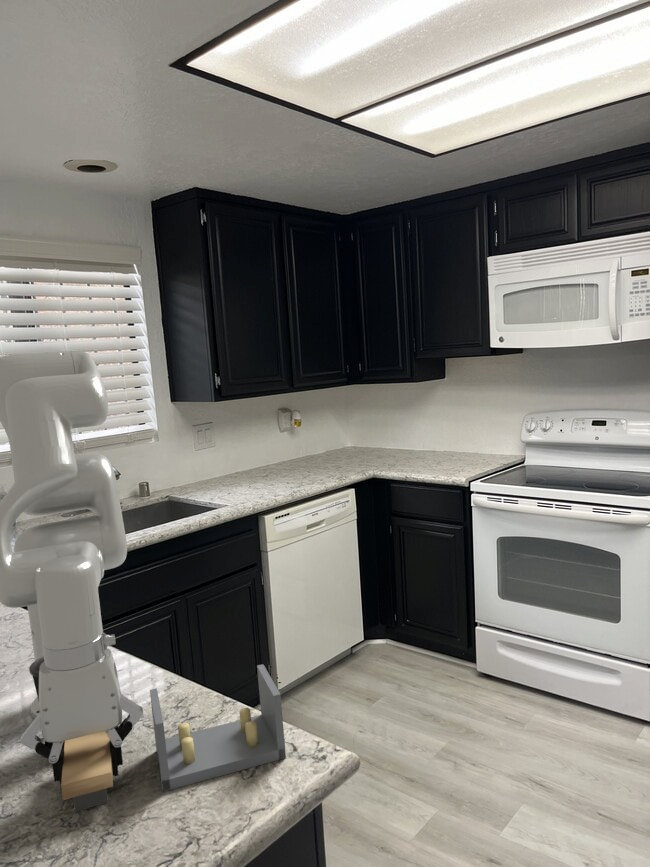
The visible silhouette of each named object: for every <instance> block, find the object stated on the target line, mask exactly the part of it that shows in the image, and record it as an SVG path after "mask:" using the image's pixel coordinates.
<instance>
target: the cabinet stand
mask: <svg viewBox="0 0 650 867" xmlns="http://www.w3.org/2000/svg"><path fill="white" fill-rule="evenodd" d="M256 668H257V671H256V672H257V680H258V690H259V693H258V694H259V703H260V715H255V716H252V714H251V713H252V712H251V708H249V707H243V708H240V709H239V719H238V720H235V721H231V722H226V723H224V724H223V723H222V724H220V725H216V726H212V727H208V728H204V729H200V730H196V731H192V732H191V731H190V724H189V723H188V722H182V723H180V724H178V725H177V731H178V735H176V736H171V737H168V738H166V735H165V727H164V725H165V724H164V719H163V714H162V709H161V703H160V697H159V693H158V689H157V688H153V689H150V690H149V694H150V705H151V714H152V722H153V723H152V724H153V732H154V738H155V739H154V741H155V749H156V750H155V751H156V755H157V762H158V768H159V770H158V771H159V774H160V775H159V776H160V781H161V789H162V793H163V792H164V793H165V792H167V791H170V790H174V789H178V788H183V787H185V786H189V785H192V784H196V783H199V782H203V781H207V780H210V779H215V778H218V777H222V776H225V775H229V774H232V773H236V772H240V771H244V770H247V769H250V768H254V767H258V766H261V765H265V764H268V763H272V762H276V761H279V760H283V759H286V758H287V754H286V744H285V732H284V720H283V719H284V718H283V709H282V698H281V696H282V695H281V693H280V691H279V689H278V687H277V685H276V683H275V682H274V680H273V679H272V676H271V675H270V673H269V672H268V670H267V668H266V666H265V665H264V663H263V664H257V665H256Z"/></svg>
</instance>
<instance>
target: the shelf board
mask: <svg viewBox="0 0 650 867" xmlns="http://www.w3.org/2000/svg"><path fill="white" fill-rule="evenodd" d="M113 779H114V776H113V772H112V760H111V753H110V739H109V738H108V736H107V734H106V733H105V731H103V732H99V733H95V734H91V735H87V736H83V737H78V738H74V739H70V740H66V741H65V745H64V763H63V769H62V780H61V789H62V790H61V789H60V790H61V797H62V800H63V801H64V800H69V799H72V798H73V797H76V796H80V795H84V794H88V793H91V792H95V791H99V790H103V789H106V788H107V789H109V788H113V787H114V780H113Z"/></svg>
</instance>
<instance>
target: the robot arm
mask: <svg viewBox="0 0 650 867" xmlns="http://www.w3.org/2000/svg"><path fill="white" fill-rule="evenodd" d="M108 413H109V402H108V394H107V391H106V387H105V383H104V381H103V378H102V375H101V373H100V371H99V370H98V367H97V365H96V362H95V361H94V359H93V357H92V356H91V355H90V354H89V353H87V352H86V351H80V350H66V351H64V350H63V351H50V352H27V353H15V354H8V355H7V354H6V355H2V356H0V424H1V426H2V428H3V429H4V431H5V434H6V436H7V439H8V443H9V450H10V456H11V457H10V458H11V462H12V463H11V464H12V471H13V472H12V473H13V477H14V478H13V479H14V480H13V481H14V483H13V484H12V486H11V487H10V488H9V490H8V491H6V492H7V493H6V494H5V495H4V497H3V498H2V499H1V500H0V604H1V605H3V606H4V607H6V608H12V609H17V608H23V607H27V612H28V621H29V626H30V633H31V640H32V642H31V643H32V648H33V658H34V661H36V660H37V659H39V658H41V657H43V656H44V662H43V663H41V665H40V670H39V701H38V697H37V696H36V697H35V698H34V700H33V701H32V702H31V705H30V714H31V716H32V718H33V720H32V722H30V725H28V727H27V728H26V729H25V731H23V733H22V734H21V738H20V744H22V745H23V746H25V747H26V748H29V749H30V750H33V751H35V753H36V754H38V755H40V756H42V757H44V758H46V759H47V760H48V762H49V763H50V764H51V767H52V773H53V778H54V779H53V781H54V783H57V782H59V787H60V791H62V789H61V780H62V769H63V763H64V751H63V749H62V745H63V742H64V741H66V740H70V739H74V738H78V737H83V736H87V735H91V734H95V733H99V732H103V731H105V733H106V734H107V736H108V738H109V739H110V753H111V760H112V772H113V777H118V776H119V766H122V765H124V762H123V761H124V760H123V752H122V745H123V741H125V739H126V738H127V737H128V735H129V734H130V733H131V731H132V730H133V727H134V726H135V725H136V724H137V723H138V722H139V721H140V719H141V718H142V717H143V715H144V710H143V707H142V706H141V705H139V704H137V703H136V702H135V701H133V700H132V699H129V698H128V697H127V696H126V695H123V694H122V692H121V687H120V685H121V684H120V682H119V680H120V679H119V673H118V670H117V669H118V668H117V665H116V662H115V659H114V656H113V653H112V650H111V649H109V648H108V647H111V646H113V645H116V636H115V633H114V634H109V633H108V634H106V632H104V628H103V622H102V615H101V613H102V612H101V605H100V604H101V602H100V597H99V586H100V583H101V580H102V579H103V578H104V575H105V571H107V570H111V569H115V568H117V567H120V566H121V565H123V563H124V562H125V560H126V558H127V555H128V544H127V537H126V536H127V535H126V530H125V524H124V519H123V512H122V508H121V506H122V505H121V500H120V494H119V489H118V488H119V487H118V482H117V477H116V474H115V470H114V467H113V464H112V463H111V461H110V459H108V457H106V456H105V455H103V454H100V453H94V452H93V453H83V454H76V453H75V449H74V442H73V436H72V429H80V428H89V427H97V426H101V425H103V424H104V423H105V422H106V420H107V418H108ZM83 510H89V511H91V512H92V513H93V514H94V515H90V516H85V517H84V516H83V517H78V518H70V519H69V518H68V519H64V520H57V521H51V522H45V523H41V524H40V523H39V524H37V525H34V526H30V527H28V528H26V529H24V530H23V531H21V532H20V534H18V536H17V537H16V539H15V541H14V547H13V550H12V544H11V539H12V538H11V537H12V535H11V534H12V530H13V528H14V525H15V523H16V521H17V519H18V518H19V517H20V516H21V514H23V513H25V514H26V515H28V516H31V517H32V516H33V517H38V516H39V517H41V516H49V515H55V514H56V515H57V514H62V513H68V512H69V513H70V512H75V511H83ZM123 711H124V712H125V713H127V714H128V715H127V716H126V718H124V719H123ZM39 732H41V736H42V737H40V736H39V735H38V733H39Z"/></svg>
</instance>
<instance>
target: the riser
mask: <svg viewBox="0 0 650 867" xmlns="http://www.w3.org/2000/svg"><path fill="white" fill-rule="evenodd" d="M106 803H108V788H106V789H103V790H99V791H95V792H91V793H88V794H84V795H80V796H76V797H73V806H74V812H77V811H81V810H84V809H89V808H92V807H96V806H99V805H102V804H106Z"/></svg>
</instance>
